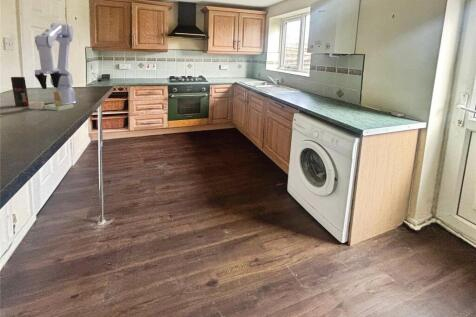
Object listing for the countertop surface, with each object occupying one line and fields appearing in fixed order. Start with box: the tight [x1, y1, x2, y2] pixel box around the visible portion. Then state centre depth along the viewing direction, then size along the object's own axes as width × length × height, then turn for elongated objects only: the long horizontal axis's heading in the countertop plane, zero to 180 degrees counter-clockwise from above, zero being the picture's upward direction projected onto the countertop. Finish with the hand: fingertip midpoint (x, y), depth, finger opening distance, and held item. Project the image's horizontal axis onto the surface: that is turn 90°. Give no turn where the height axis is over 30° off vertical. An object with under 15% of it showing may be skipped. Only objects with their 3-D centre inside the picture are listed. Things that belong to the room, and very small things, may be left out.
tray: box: [42, 103, 75, 111], centre depth 169 cm, size 11×9×2 cm
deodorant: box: [10, 76, 30, 108], centre depth 168 cm, size 6×6×15 cm
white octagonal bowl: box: [28, 101, 45, 110], centre depth 166 cm, size 7×7×3 cm
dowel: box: [53, 91, 62, 107], centre depth 167 cm, size 3×3×8 cm
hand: (50, 88), depth 167 cm, fingers open, 7 cm apart
